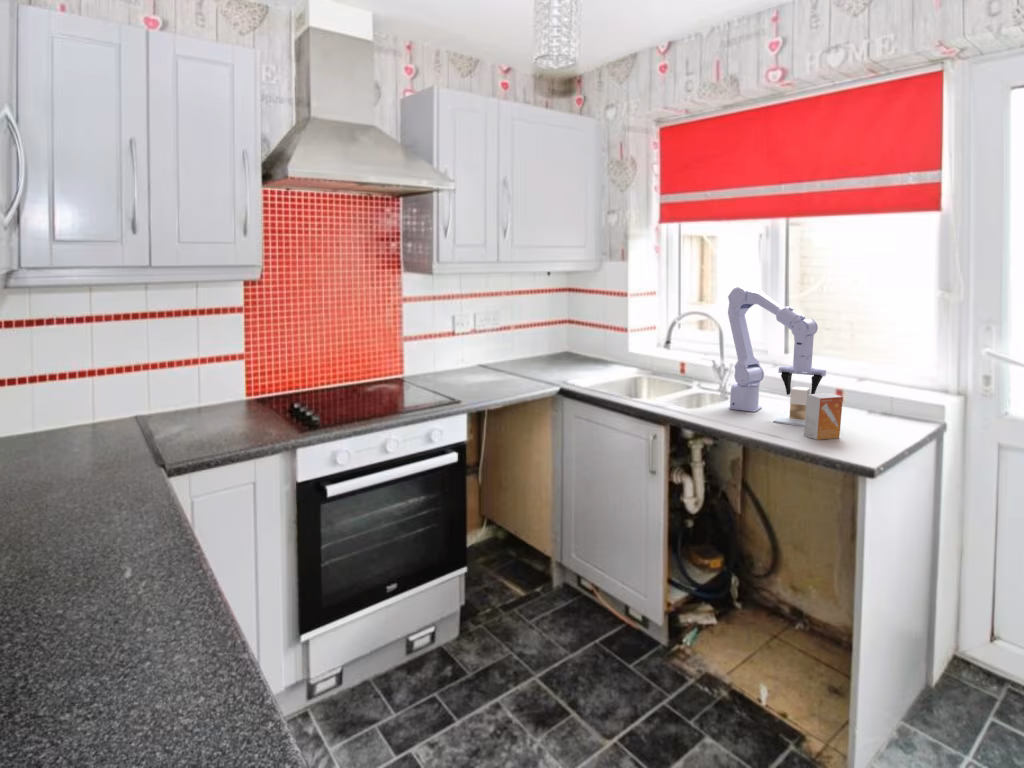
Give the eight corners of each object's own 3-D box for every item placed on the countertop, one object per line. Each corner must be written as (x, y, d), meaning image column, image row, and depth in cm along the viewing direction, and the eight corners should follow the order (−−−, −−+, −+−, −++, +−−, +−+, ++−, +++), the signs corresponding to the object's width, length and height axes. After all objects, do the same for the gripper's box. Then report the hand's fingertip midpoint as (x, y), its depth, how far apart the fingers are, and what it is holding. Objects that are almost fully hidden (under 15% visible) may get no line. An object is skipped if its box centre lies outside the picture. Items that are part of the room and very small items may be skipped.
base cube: (789, 418, 221) (790, 403, 220) (793, 415, 225) (793, 400, 224) (805, 419, 218) (806, 405, 217) (808, 416, 222) (809, 402, 221)
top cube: (790, 403, 220) (790, 389, 219) (793, 400, 224) (794, 386, 223) (805, 405, 217) (806, 390, 216) (809, 402, 221) (810, 388, 220)
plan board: (773, 422, 218) (773, 420, 218) (785, 413, 230) (785, 411, 230) (811, 427, 211) (811, 425, 211) (821, 417, 223) (822, 415, 223)
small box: (817, 440, 197) (820, 398, 194) (803, 435, 203) (805, 394, 200) (840, 438, 198) (843, 396, 196) (825, 433, 204) (828, 392, 202)
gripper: (776, 355, 219) (774, 395, 221) (823, 358, 210) (821, 399, 213) (782, 352, 224) (780, 391, 227) (828, 355, 216) (825, 396, 218)
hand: (800, 395), depth 220 cm, fingers open, 7 cm apart
